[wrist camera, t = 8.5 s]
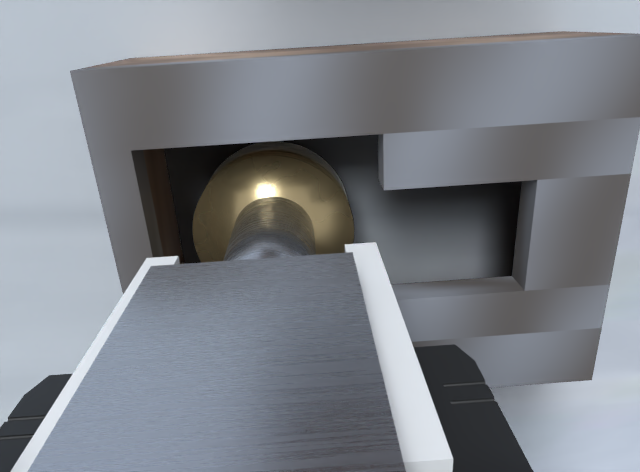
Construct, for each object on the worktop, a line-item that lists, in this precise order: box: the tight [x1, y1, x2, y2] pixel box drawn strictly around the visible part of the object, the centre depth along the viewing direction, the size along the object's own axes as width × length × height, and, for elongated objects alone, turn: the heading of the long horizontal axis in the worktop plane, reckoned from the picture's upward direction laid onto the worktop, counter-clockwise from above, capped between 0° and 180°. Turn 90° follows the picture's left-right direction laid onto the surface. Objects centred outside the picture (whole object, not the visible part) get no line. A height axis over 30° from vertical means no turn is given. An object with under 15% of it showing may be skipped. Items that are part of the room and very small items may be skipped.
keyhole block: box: [70, 31, 640, 388], centre depth 17 cm, size 15×11×5 cm
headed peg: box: [27, 141, 406, 472], centre depth 12 cm, size 5×5×14 cm
